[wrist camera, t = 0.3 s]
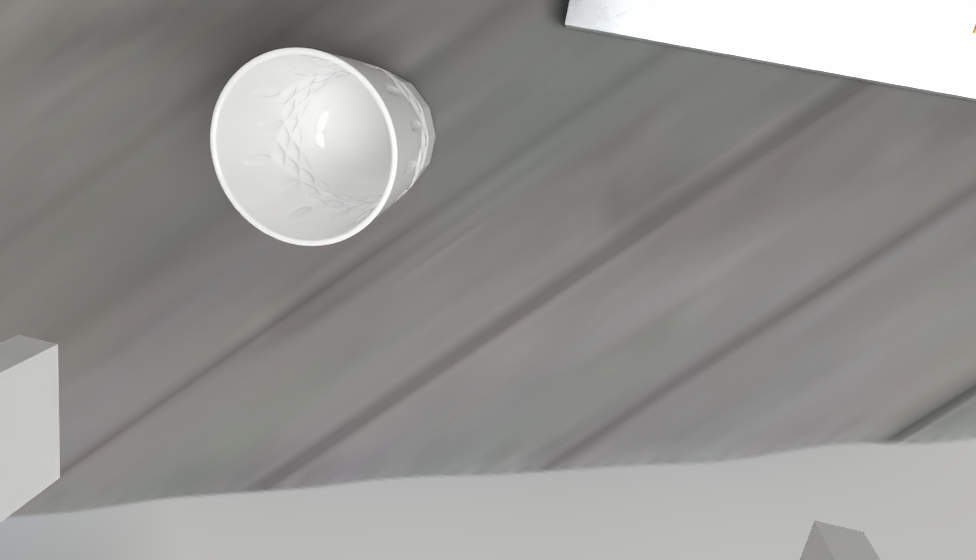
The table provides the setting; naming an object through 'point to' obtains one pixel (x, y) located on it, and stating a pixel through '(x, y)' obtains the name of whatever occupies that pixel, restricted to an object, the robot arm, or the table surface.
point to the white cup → (317, 143)
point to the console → (810, 35)
